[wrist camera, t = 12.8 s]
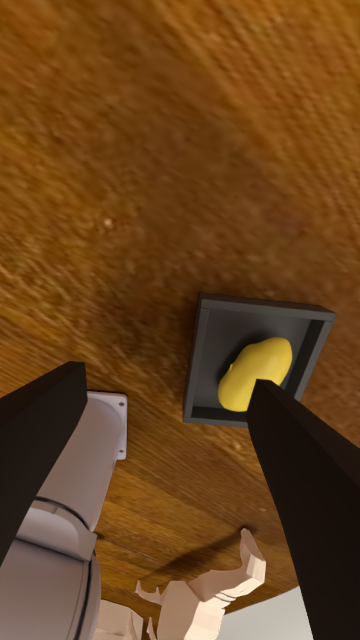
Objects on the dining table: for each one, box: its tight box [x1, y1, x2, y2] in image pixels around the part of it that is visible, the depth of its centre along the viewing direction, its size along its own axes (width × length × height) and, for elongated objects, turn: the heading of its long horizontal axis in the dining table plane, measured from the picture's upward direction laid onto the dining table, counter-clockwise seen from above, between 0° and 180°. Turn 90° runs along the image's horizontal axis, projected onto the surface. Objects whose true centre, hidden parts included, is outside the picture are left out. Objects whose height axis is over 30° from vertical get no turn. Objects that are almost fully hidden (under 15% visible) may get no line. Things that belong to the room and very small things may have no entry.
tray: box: [183, 293, 337, 428], centre depth 18 cm, size 12×10×2 cm
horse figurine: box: [127, 528, 266, 640], centre depth 29 cm, size 5×16×25 cm
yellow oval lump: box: [218, 337, 292, 412], centre depth 16 cm, size 4×8×4 cm, turn 143°
